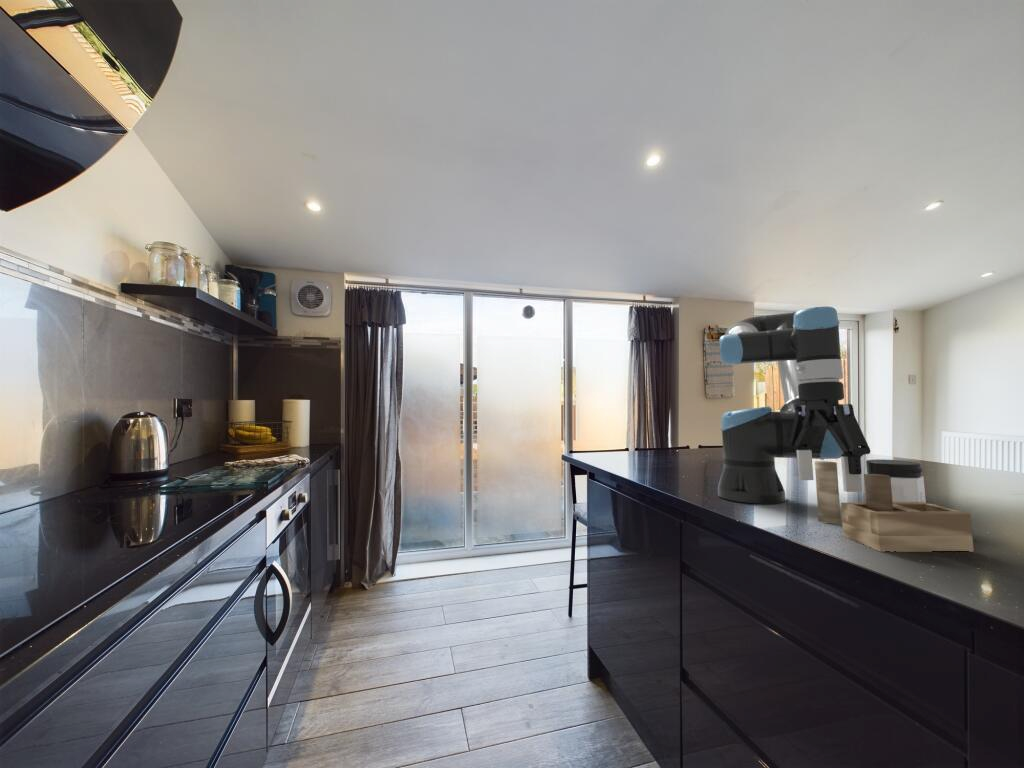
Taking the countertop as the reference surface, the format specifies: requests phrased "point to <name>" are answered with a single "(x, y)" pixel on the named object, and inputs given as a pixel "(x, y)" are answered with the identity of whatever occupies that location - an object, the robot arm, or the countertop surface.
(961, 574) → the countertop surface
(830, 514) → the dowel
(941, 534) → the wooden divided box
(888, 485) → the stub
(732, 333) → the robot arm
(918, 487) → the jar
